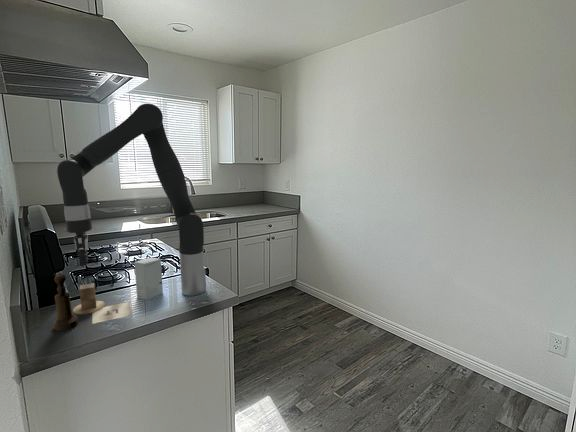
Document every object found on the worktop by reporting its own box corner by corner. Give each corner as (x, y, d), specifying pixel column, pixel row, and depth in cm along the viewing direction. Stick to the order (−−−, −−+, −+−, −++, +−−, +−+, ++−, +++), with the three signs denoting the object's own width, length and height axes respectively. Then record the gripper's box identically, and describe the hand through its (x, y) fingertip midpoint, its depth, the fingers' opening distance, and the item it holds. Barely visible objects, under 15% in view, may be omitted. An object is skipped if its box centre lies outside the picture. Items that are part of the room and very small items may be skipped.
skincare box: (146, 300, 125) (143, 264, 122) (136, 297, 128) (133, 261, 125) (164, 293, 132) (161, 258, 129) (154, 290, 135) (151, 256, 132)
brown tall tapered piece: (50, 327, 105) (43, 275, 102) (72, 319, 110) (66, 269, 107) (59, 333, 102) (52, 279, 98) (81, 325, 107) (75, 273, 104)
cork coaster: (104, 300, 125) (104, 298, 125) (105, 310, 117) (105, 309, 117) (74, 305, 120) (73, 304, 120) (72, 317, 112) (72, 315, 112)
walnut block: (96, 303, 122) (94, 283, 120) (96, 307, 118) (94, 287, 116) (82, 305, 119) (79, 285, 118) (81, 310, 115) (79, 289, 114)
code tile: (129, 302, 123) (128, 301, 123) (131, 315, 113) (131, 315, 113) (92, 309, 117) (92, 309, 117) (92, 324, 107) (92, 323, 107)
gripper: (90, 219, 108) (96, 265, 111) (91, 213, 120) (96, 255, 123) (63, 222, 105) (70, 269, 108) (66, 215, 117) (73, 258, 120)
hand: (84, 261), depth 115 cm, fingers open, 8 cm apart
